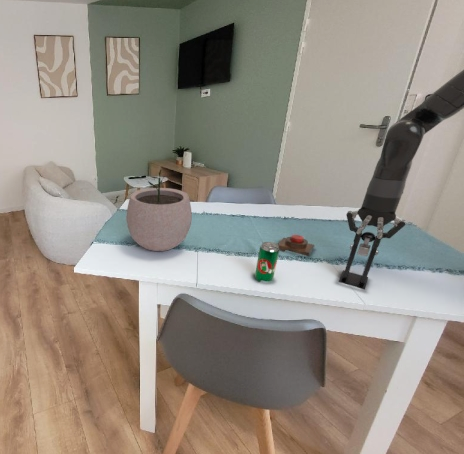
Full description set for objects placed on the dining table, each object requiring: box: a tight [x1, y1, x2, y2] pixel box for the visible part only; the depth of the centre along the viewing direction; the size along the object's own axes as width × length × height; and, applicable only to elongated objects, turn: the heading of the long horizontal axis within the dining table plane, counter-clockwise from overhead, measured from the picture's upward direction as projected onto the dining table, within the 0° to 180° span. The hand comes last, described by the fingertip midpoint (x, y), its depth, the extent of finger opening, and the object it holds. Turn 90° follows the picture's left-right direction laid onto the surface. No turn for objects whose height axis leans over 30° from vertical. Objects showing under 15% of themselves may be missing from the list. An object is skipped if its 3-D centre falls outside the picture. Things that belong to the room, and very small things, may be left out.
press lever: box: [356, 231, 376, 257], centre depth 86 cm, size 14×3×3 cm, turn 136°
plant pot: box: [126, 169, 193, 252], centre depth 108 cm, size 24×24×30 cm
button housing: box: [276, 235, 315, 257], centre depth 105 cm, size 10×8×4 cm
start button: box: [290, 234, 305, 243], centre depth 104 cm, size 4×4×2 cm
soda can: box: [254, 241, 280, 282], centre depth 88 cm, size 5×5×12 cm
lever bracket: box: [338, 239, 379, 290], centre depth 84 cm, size 8×6×13 cm
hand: (365, 245), depth 90 cm, fingers closed on press lever, 3 cm apart
